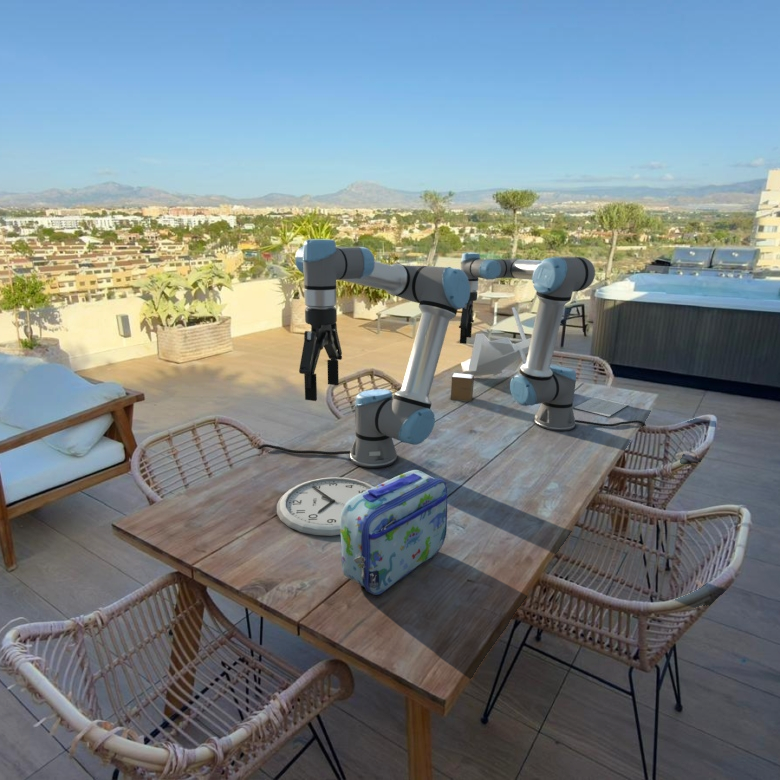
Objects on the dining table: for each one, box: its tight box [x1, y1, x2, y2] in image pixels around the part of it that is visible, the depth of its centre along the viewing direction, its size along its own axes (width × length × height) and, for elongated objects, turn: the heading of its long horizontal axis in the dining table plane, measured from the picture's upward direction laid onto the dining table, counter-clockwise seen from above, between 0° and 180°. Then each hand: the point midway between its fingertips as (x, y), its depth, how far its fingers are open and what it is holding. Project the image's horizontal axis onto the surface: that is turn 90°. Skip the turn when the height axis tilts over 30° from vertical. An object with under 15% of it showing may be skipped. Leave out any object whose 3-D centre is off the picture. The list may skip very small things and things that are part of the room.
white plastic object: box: [460, 306, 531, 377], centre depth 259 cm, size 37×45×31 cm
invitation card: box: [573, 396, 629, 418], centre depth 226 cm, size 21×1×15 cm
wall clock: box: [276, 476, 375, 537], centre depth 142 cm, size 30×2×30 cm
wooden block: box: [450, 372, 475, 402], centre depth 233 cm, size 6×9×10 cm
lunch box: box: [340, 469, 448, 596], centre depth 114 cm, size 26×11×21 cm, turn 134°
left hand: (322, 392), depth 130 cm, fingers open, 13 cm apart
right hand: (465, 340), depth 227 cm, fingers open, 13 cm apart
